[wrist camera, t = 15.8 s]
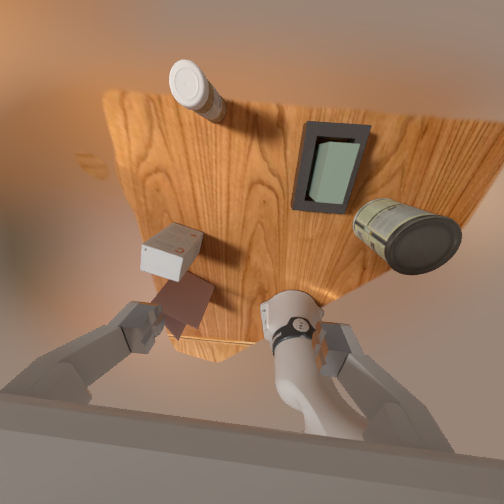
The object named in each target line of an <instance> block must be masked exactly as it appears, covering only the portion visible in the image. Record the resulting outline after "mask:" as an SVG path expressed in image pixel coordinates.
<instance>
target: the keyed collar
mask: <svg viewBox="0 0 504 504" xmlns="http://www.w3.org/2000/svg"><path fill="white" fill-rule="evenodd" d="M371 126H372V125H360V124H345V123H330V122H315V121H307V122H306V123H305V124H304V125H303V131H302V137H301V144H300V150H299V156H298V162H297V168H296V174H295V181H294V187H293V193H292V199H291V208H292V210H300V211H312V212H324V213H335V214H345V211H346V208H347V205H348V201H349V198H350V195H351V191H352V188H353V185H354V182H355V178H356V175H357V172H358V169H359V165H360V162H361V159H362V155H363V152H364V149H365V146H366V142H367V139H368V136H369V133H370V129H371ZM316 138H318V139H333V140H347V141H346V143H355V144H360V146H359V150H358V153H357V156H356V160H355V163H354V167H353V170H352V173H351V177H350V180H349V183H348V187H347V190H346V194H345V197H344V200H343V204H334V203H322V202H316V201H314V200H313V199H312V198H308V197H305V195H306V189H307V184H308V179H309V174H310V169H311V164H312V159H313V154H314V148H315V143H316Z"/></svg>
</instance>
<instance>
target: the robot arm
mask: <svg viewBox="0 0 504 504" xmlns="http://www.w3.org/2000/svg"><path fill="white" fill-rule="evenodd" d="M162 310H163V308H162V305H160V304H154V303H146V302H138V301H131V302H129V303H128V304H127V305H126V306H125V307H124V308H123V309H122V310H121V311H120V312H119V313H118V314H117V315H116V316H115V317H114V318H113V319H112V320H111V321H110V323H109V324H108V325H103V326H101V327H99V328H97V329H95V330H93V331H92V332H89V333H87V334H85V335H83V336H81V337H79V338H77V339H75V340H73V341H71V342H69V343H67V344H65V345H63V346H61V347H59V348H57V349H55V350H53V351H51V352H49V353H47V354H45V355H43V356H41V357H39V358H37V359H36V360H35V361H34V362H32V363H31V364H30V365H29V366H28V367H27V368H26V369H24V370H23V371H22V372H21V373H20V374H19V375H17V376H16V377H15V378H14V379H13V380H12V381H11V382H10V383H8V384H7V385H6V386H5V387H4V388H3V389H1V390H0V504H504V460H501V459H494V458H486V457H478V456H471V455H464V454H456V453H455V452H454V450H453V449H452V447H451V445H450V444H449V442H448V440H447V439H446V438H445V436H444V434H443V433H442V431H441V430H440V428H439V426H438V425H437V423H436V421H435V420H434V418H433V417H432V415H431V413H430V412H429V410H428V409H427V407H426V406H425V405H423V403H421V402H420V401H419V400H418V399H417V398H416V397H415V396H414V395H412V394H411V393H410V392H409V391H408V390H407V389H406V388H404V387H403V386H402V385H401V384H400V383H399V382H397V380H395V379H394V378H393V377H392V376H391V375H390V374H389V373H387V372H386V371H385V370H384V369H383V368H382V367H381V366H380V365H378V364H377V363H376V362H375V361H374V360H373V359H372V358H370V357H369V356H368V355H364V352H363V351H362V348H361V346H360V344H359V342H358V340H357V338H356V336H355V334H354V332H353V330H352V328H351V326H350V325H349V324H341V323H332V322H322V320H321V319H322V317H323V316H324V311H323V309H321V308H320V307H319V306H317V304H316V303H315V301H314V299H313V298H312V297H311V296H310V295H308V294H306V293H304V292H301V291H296V290H289V291H284V292H281V293H278V294H277V295H275V296H274V297H272V298H271V299H270V300H269V301H266V302H264V303H262V304H261V305H260V310H261V317H262V324H263V331H264V338H265V339H266V340H268V341H270V346H271V349H272V351H273V355H274V357H275V385H276V389H277V391H278V393H279V395H280V397H281V399H282V400H283V401H284V402H285V403H286V404H287V405H289V406H290V407H292V408H294V409H296V410H298V411H301V412H303V414H304V419H305V430H304V431H303V432H301V433H299V432H291V431H284V430H277V429H269V428H262V427H254V426H247V425H239V424H232V423H224V422H217V421H209V420H202V419H194V418H187V417H179V416H172V415H165V414H156V413H149V412H141V411H135V410H127V409H119V408H112V407H104V406H97V405H89V404H88V403H89V402H90V400H91V399H92V395H91V393H90V391H89V390H88V388H87V387H88V386H89V385H91V384H92V383H93V382H95V381H96V380H97V379H99V378H100V377H101V376H102V375H104V374H105V373H106V372H108V371H109V370H110V369H111V368H113V367H114V366H115V365H117V364H118V363H119V362H120V361H122V360H123V359H124V358H125V357H127V356H128V355H130V354H131V353H141V354H148V353H149V351H150V350H151V348H152V346H153V345H154V343H155V337H157V336H158V335H160V333H161V332H162V330H163V327H164V324H165V317H164V315H163V314H162V313H161V312H162ZM332 377H337V379H338V380H339V382H340V383H341V384H342V386H343V387H344V388H345V390H346V391H347V392H348V394H349V395H350V396H351V398H352V399H353V400H354V402H355V403H356V404H357V406H358V407H359V408H360V410H361V411H362V412H363V414H364V415H365V416H366V418H365V417H363V416H362V415H360V414H359V413H358V412H356V411H355V410H354V409H353V408H352V407H351V406H350V405H349V404H348V403H347V402H346V401H345V400H344V399H343V398H342V396H341V395H340V393H339V392H338V390H337V389H336V387H335V385H334V383H333V380H332Z"/></svg>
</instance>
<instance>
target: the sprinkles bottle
mask: <svg viewBox="0 0 504 504" xmlns="http://www.w3.org/2000/svg"><path fill="white" fill-rule="evenodd" d="M169 84H170V89H171V92H172V94H173V96H174V98H175V99H176V100H177V102H178V103H180V104H181V105H182V106H184V107H186V108H187V109H190V110H193V111H194V112H196V113H197V114H199V115H201V116H202V117H204V118H206V119H207V120H209V121H210V122H212V123H218V122H220V121H221V120H222V119H223V118H224V116H225V114H226V104H225V102H224V99H223V98H222V97H221V96H220V95H219V93H218V92H217V91H216V89H215V88H214V87H213V85H212V84H211V83H210V82H209V81H208V80H207V79H206V76H205V75H204V73H203V72H202V70H201V69H200V68H199V67H198V66H197V65H196V64H195V63H194V62H192V61H189V60H180V61H178V62H176V63H175V64H174V66H173V67H172V69H171V71H170V76H169Z"/></svg>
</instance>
